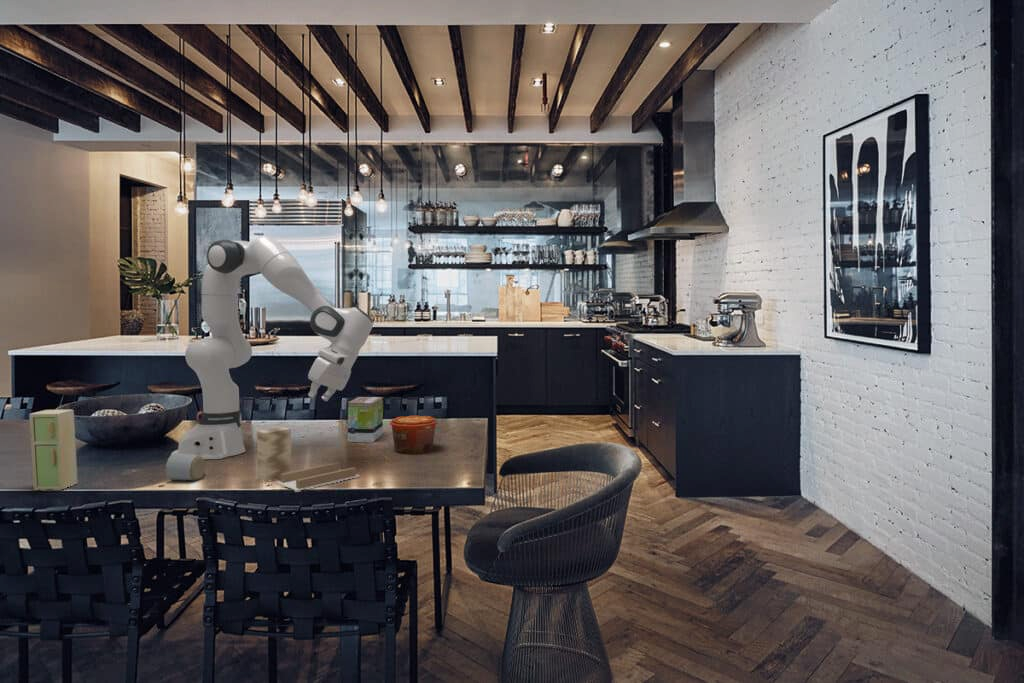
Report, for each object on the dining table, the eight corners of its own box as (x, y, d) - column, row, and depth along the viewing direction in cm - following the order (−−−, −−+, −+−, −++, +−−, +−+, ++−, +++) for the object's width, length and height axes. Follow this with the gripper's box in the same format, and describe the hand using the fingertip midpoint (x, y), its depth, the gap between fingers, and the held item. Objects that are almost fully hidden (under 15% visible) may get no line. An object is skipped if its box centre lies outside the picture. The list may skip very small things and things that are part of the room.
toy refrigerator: (30, 491, 177) (26, 413, 176) (49, 484, 184) (46, 409, 183) (60, 491, 177) (56, 413, 176) (78, 484, 184) (75, 409, 183)
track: (296, 492, 177) (296, 481, 177) (276, 484, 184) (276, 474, 184) (359, 477, 192) (359, 467, 191) (338, 470, 199) (338, 461, 199)
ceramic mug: (192, 483, 185) (192, 456, 184) (165, 483, 185) (164, 455, 185) (213, 474, 195) (213, 448, 195) (187, 473, 196) (186, 448, 196)
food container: (410, 443, 238) (410, 413, 237) (446, 448, 230) (446, 417, 229) (380, 451, 224) (379, 420, 224) (417, 457, 216) (417, 425, 216)
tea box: (374, 442, 238) (374, 402, 237) (347, 442, 238) (346, 402, 237) (383, 434, 253) (383, 396, 252) (357, 434, 253) (356, 396, 252)
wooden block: (265, 482, 187) (264, 433, 186) (258, 479, 190) (256, 430, 189) (291, 476, 192) (290, 429, 192) (283, 473, 195) (283, 427, 195)
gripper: (344, 359, 213) (323, 397, 212) (317, 347, 194) (294, 389, 192) (360, 368, 212) (339, 406, 211) (335, 357, 192) (312, 399, 191)
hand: (317, 398), depth 201 cm, fingers open, 8 cm apart
